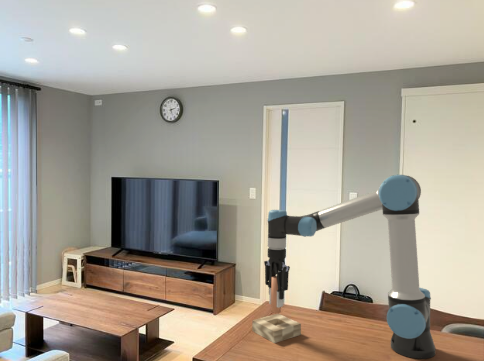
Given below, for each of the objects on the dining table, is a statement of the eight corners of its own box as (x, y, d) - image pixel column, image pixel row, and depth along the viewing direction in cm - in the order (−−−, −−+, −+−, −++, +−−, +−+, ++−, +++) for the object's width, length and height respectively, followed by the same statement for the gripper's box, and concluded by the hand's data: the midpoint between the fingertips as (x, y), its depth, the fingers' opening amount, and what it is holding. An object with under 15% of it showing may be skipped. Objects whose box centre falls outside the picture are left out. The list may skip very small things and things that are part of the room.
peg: (282, 312, 155) (283, 277, 155) (275, 314, 153) (275, 279, 152) (276, 309, 158) (277, 275, 158) (269, 311, 156) (269, 277, 156)
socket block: (300, 334, 154) (300, 323, 154) (274, 343, 146) (274, 331, 145) (278, 323, 165) (278, 313, 165) (252, 331, 157) (252, 320, 157)
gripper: (298, 250, 150) (297, 309, 151) (270, 243, 164) (269, 297, 164) (283, 252, 146) (282, 313, 146) (256, 245, 160) (256, 301, 160)
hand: (276, 305), depth 155 cm, fingers closed on peg, 4 cm apart
